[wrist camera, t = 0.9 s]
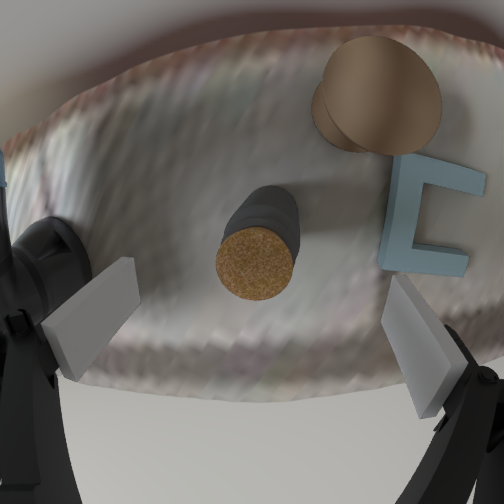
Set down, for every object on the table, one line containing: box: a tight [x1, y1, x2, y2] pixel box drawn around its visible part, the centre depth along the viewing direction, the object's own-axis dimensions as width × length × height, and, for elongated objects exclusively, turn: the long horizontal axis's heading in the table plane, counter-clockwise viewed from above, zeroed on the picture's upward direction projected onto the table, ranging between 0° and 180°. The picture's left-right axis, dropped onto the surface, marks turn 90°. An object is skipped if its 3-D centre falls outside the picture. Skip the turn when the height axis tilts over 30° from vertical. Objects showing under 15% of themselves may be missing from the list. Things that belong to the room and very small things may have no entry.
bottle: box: [216, 186, 300, 301], centre depth 24 cm, size 6×6×15 cm
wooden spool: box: [312, 36, 442, 156], centre depth 21 cm, size 9×9×11 cm
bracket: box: [377, 153, 486, 277], centre depth 27 cm, size 12×13×2 cm
